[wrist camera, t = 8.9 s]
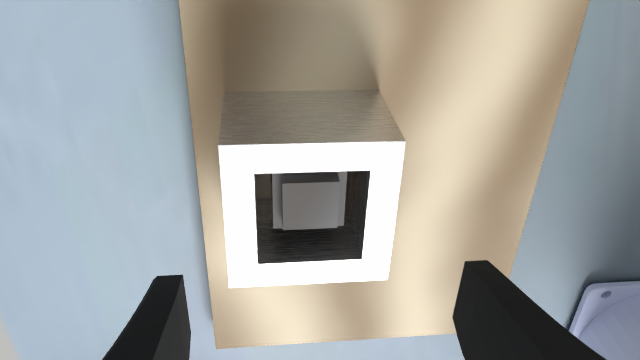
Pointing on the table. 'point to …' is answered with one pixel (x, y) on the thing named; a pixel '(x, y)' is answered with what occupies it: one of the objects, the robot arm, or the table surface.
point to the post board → (417, 129)
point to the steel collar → (309, 156)
